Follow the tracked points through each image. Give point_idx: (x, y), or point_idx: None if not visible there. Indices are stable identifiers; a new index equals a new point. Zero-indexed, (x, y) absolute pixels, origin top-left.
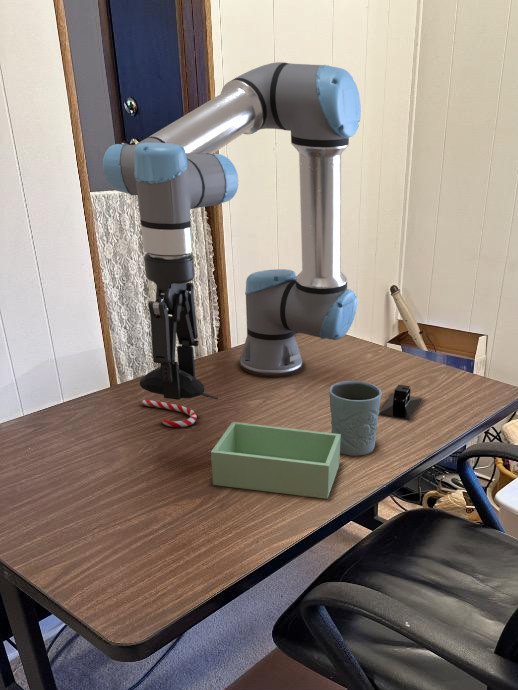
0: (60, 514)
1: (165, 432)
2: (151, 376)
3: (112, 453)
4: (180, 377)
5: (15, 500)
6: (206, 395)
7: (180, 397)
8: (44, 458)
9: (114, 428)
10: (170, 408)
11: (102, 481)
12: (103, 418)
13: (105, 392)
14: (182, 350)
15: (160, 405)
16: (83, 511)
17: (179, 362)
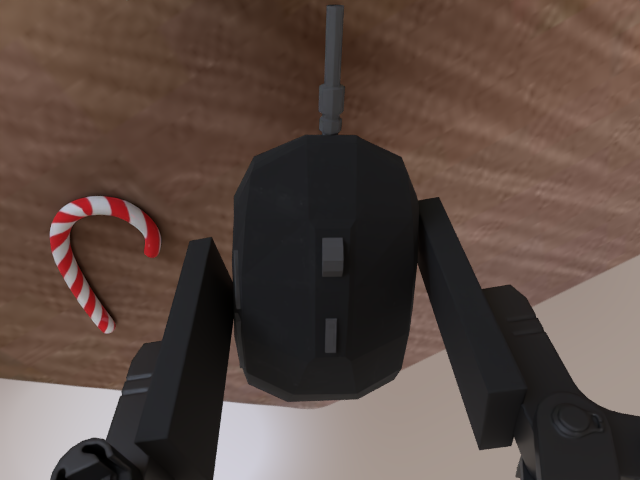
0: (618, 199)
1: (188, 224)
2: (389, 378)
3: None
4: (364, 292)
5: (564, 283)
6: (342, 94)
7: (421, 203)
8: None
9: None
10: (82, 277)
11: (468, 208)
12: None
13: None
14: (202, 447)
15: (92, 298)
16: (606, 169)
17: (222, 379)
